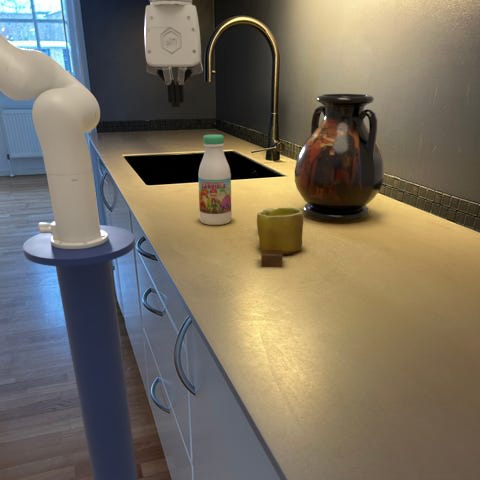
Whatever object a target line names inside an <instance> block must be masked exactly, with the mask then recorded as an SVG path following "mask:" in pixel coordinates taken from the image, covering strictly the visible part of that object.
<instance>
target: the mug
mask: <svg viewBox="0 0 480 480" xmlns="http://www.w3.org/2000/svg"><path fill="white" fill-rule="evenodd" d="M256 227H257V233H258V241H259V247H260V249H261V250H282V255H287V254H288V255H289V254H293V253H296V252H299V251H301V250H302V247H303V231H304V212H303V210H302V209H300V208H294V207H277V208H271V207H268V208H264V209H263V210H261V211H259V212H257V214H256Z"/></svg>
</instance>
